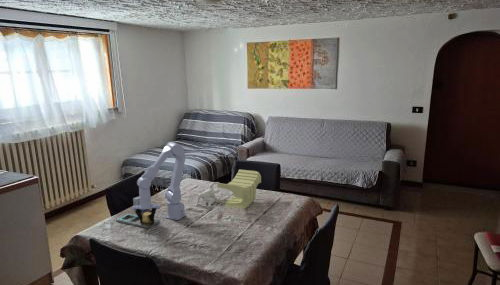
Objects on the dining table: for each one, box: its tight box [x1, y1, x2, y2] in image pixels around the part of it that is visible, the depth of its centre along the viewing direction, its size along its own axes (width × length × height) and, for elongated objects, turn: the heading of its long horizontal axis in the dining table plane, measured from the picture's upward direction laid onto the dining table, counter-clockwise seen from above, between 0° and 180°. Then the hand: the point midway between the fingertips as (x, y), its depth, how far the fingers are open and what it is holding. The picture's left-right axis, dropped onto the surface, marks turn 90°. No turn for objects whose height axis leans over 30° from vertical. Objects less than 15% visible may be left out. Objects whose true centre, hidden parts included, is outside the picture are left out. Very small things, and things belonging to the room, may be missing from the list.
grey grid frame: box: [115, 213, 161, 230], centre depth 192 cm, size 24×9×1 cm, turn 65°
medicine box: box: [132, 195, 147, 212], centre depth 208 cm, size 8×4×9 cm, turn 143°
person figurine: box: [194, 181, 223, 209], centre depth 218 cm, size 13×13×18 cm
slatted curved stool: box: [216, 169, 262, 210], centre depth 214 cm, size 30×16×18 cm, turn 156°
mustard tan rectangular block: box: [141, 211, 152, 225], centre depth 189 cm, size 4×4×6 cm
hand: (147, 221), depth 189 cm, fingers closed on mustard tan rectangular block, 6 cm apart
